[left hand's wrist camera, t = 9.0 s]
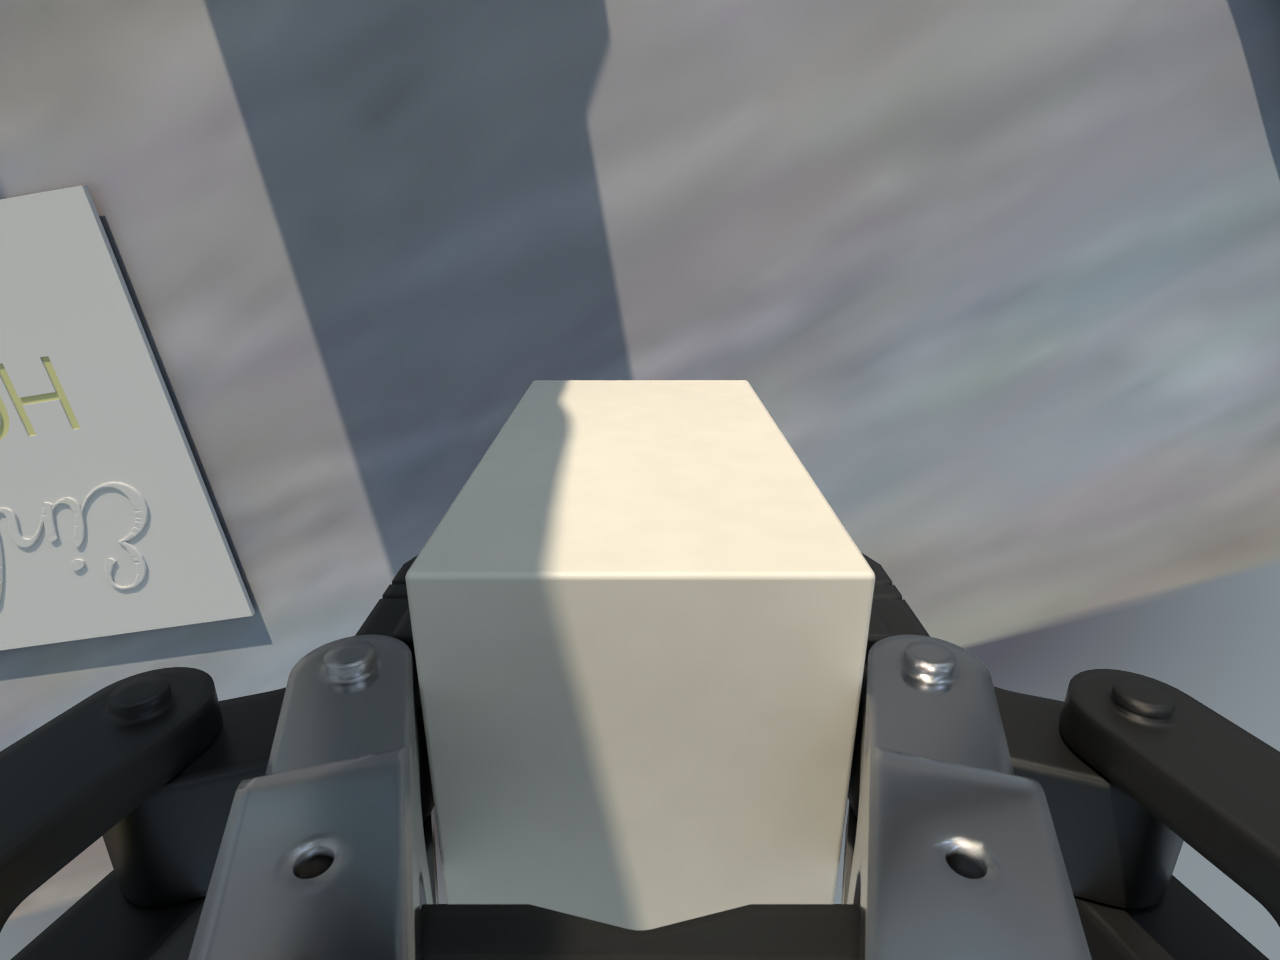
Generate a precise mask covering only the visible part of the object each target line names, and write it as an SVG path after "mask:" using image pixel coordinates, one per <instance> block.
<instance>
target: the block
mask: <svg viewBox="0 0 1280 960" xmlns="http://www.w3.org/2000/svg"><path fill="white" fill-rule="evenodd" d="M405 579H406V587H407V594H408V602H409V610H410V618H411V626H412V634H413V642H414V650H415V657H416V665H417V673H418V681H419V689H420V697H421V705H422V713H423V720H424V728H425V736H426V744H427V752H428V760H429V768H430V776H431V783H432V791H433V799H434V807H435V815H436V823H437V831H438V838H439V846H440V854H441V862H442V870H443V878H444V885H445V894H446V901H447V904H530V905H534V906H538V907H542V908H546V909H550V910H554V911H558V912H562V913H566V914H570V915H574V916H578V917H582V918H586V919H590V920H594V921H598V922H602V923H606V924H610V925H614V926H618V927H622V928H626V929H631V930H649V929H654V928H658V927H662V926H666V925H670V924H674V923H678V922H682V921H686V920H690V919H694V918H698V917H702V916H706V915H710V914H714V913H718V912H722V911H726V910H730V909H734V908H738V907H742V906H746V905H750V904H834V900H835V892H836V884H837V876H838V868H839V860H840V852H841V844H842V837H843V829H844V821H845V813H846V805H847V797H848V789H849V782H850V774H851V766H852V758H853V750H854V742H855V734H856V726H857V719H858V711H859V703H860V695H861V687H862V679H863V671H864V664H865V656H866V648H867V640H868V632H869V624H870V616H871V608H872V601H873V593H874V585H875V574H874V572H873V570H872V569H871V567H870V566H869V564H868V563H867V561H866V560H865V558H864V557H863V555H862V554H861V552H860V551H859V549H858V548H857V546H856V545H855V543H854V542H853V540H852V539H851V537H850V536H849V534H848V532H847V531H846V529H845V528H844V526H843V525H842V523H841V522H840V520H839V519H838V517H837V516H836V514H835V513H834V511H833V510H832V508H831V507H830V505H829V504H828V502H827V501H826V499H825V498H824V496H823V495H822V493H821V492H820V490H819V489H818V487H817V486H816V484H815V483H814V481H813V480H812V478H811V477H810V475H809V473H808V472H807V470H806V469H805V467H804V466H803V464H802V463H801V461H800V460H799V458H798V457H797V455H796V454H795V452H794V451H793V449H792V448H791V446H790V445H789V443H788V442H787V440H786V439H785V437H784V436H783V434H782V433H781V431H780V430H779V428H778V427H777V425H776V424H775V422H774V421H773V419H772V418H771V416H770V415H769V413H768V411H767V410H766V408H765V407H764V405H763V404H762V402H761V401H760V399H759V398H758V396H757V395H756V393H755V392H754V390H753V389H752V387H751V386H750V384H749V383H748V381H746V380H535V381H533V382H532V383H531V385H530V386H529V388H528V389H527V391H526V392H525V394H524V395H523V397H522V398H521V400H520V401H519V403H518V404H517V406H516V408H515V409H514V411H513V412H512V414H511V415H510V417H509V418H508V420H507V421H506V423H505V424H504V426H503V427H502V429H501V430H500V432H499V433H498V435H497V436H496V438H495V439H494V441H493V442H492V444H491V445H490V447H489V449H488V450H487V452H486V453H485V455H484V456H483V458H482V459H481V461H480V462H479V464H478V465H477V467H476V468H475V470H474V471H473V473H472V474H471V476H470V477H469V479H468V480H467V482H466V483H465V485H464V487H463V488H462V490H461V491H460V493H459V494H458V496H457V497H456V499H455V500H454V502H453V503H452V505H451V506H450V508H449V509H448V511H447V512H446V514H445V515H444V517H443V518H442V520H441V521H440V523H439V524H438V526H437V528H436V529H435V531H434V532H433V534H432V535H431V537H430V538H429V540H428V541H427V543H426V544H425V546H424V547H423V549H422V550H421V552H420V553H419V555H418V556H417V558H416V559H415V561H414V562H413V564H412V566H411V567H410V569H409V570H408V572H407V574H406V577H405Z"/></svg>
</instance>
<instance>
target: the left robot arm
mask: <svg viewBox="0 0 1280 960" xmlns="http://www.w3.org/2000/svg"><path fill="white" fill-rule="evenodd" d="M861 554H862V555H863V557H864V558H865V560H866V561H867V563H868V564H869V566H870V567H871V569H872V570H873V572H874V574H875V585H874V593H873V601H872V608H871V616H870V624H869V632H868V640H867V648H866V656H865V664H864V671H863V679H862V687H861V695H860V703H859V711H858V719H857V726H856V734H855V742H854V750H853V758H852V766H851V774H850V782H849V789H848V798H849V809H848V817H847V824H846V835H845V852H844V869H843V886H842V903H841V904H750V905H746V906H742V907H738V908H734V909H730V910H726V911H722V912H718V913H714V914H710V915H706V916H702V917H698V918H694V919H690V920H686V921H682V922H678V923H674V924H670V925H666V926H662V927H658V928H654V929H649V930H631V929H626V928H622V927H618V926H614V925H610V924H606V923H602V922H598V921H594V920H590V919H586V918H582V917H578V916H574V915H570V914H566V913H562V912H558V911H554V910H550V909H546V908H542V907H538V906H534V905H530V904H439V903H438V886H437V869H436V852H435V835H434V824H433V817H432V809H433V807H434V799H433V791H432V783H431V776H430V768H429V760H428V752H427V744H426V736H425V728H424V720H423V713H422V705H421V697H420V689H419V681H418V673H417V665H416V657H415V650H414V642H413V634H412V626H411V618H410V610H409V602H408V594H407V587H406V579H405V577H406V574H407V572H408V570H409V569H410V567H411V566H412V564H413V562H414V561H415V559H416V558H417V556H416V557H414V558H413V559H411V560H410V561H408V562H407V563H405V564H404V565H403V566H402V568H401V569H400V571H399V572H398V573H397V575H396V576H395V578H394V579H393V581H392V585H389V587H388V588H387V590H386V591H385V593H384V594H383V599H380V600H379V601H378V603H377V604H376V606H375V607H374V609H373V610H372V612H371V613H370V615H369V616H368V618H367V619H366V621H365V622H364V623H363V625H362V626H361V628H360V629H359V631H358V632H357V634H356V635H355V636H352V637H347V638H343V639H339V640H336V641H333V642H330V643H328V644H325V645H323V646H321V647H319V648H317V649H315V650H313V651H312V652H310V653H308V654H307V655H306V656H304V657H303V658H302V659H300V660H299V661H298V663H297V664H296V665H295V666H294V667H293V669H292V670H291V672H290V675H289V678H288V682H287V686H286V688H282V689H278V690H274V691H270V692H265V693H260V694H254V695H249V696H244V697H239V698H234V699H228V700H223V701H218V698H217V694H216V690H215V685H214V682H213V679H212V677H211V676H210V675H209V674H207V673H206V672H204V671H202V670H198V669H195V668H187V667H173V668H163V669H157V670H152V671H148V672H144V673H140V674H137V675H134V676H131V677H128V678H125V679H123V680H120V681H118V682H115V683H113V684H111V685H109V686H107V687H105V688H103V689H101V690H100V691H98V692H96V693H94V694H93V695H91V696H90V697H88V698H86V699H85V700H83V701H82V702H80V703H78V704H77V705H75V706H73V707H72V708H70V709H69V710H67V711H65V712H64V713H62V714H61V715H59V716H57V717H56V718H54V719H53V720H51V721H49V722H48V723H46V724H44V725H43V726H41V727H40V728H38V729H36V730H35V731H33V732H32V733H30V734H28V735H27V736H25V737H24V738H22V739H20V740H19V741H17V742H15V743H14V744H12V745H11V746H9V747H7V748H6V749H4V750H3V751H1V752H0V932H1V930H2V928H3V926H4V924H5V923H6V921H7V919H8V918H9V916H10V915H11V914H12V912H13V911H14V910H15V909H16V908H17V906H18V905H19V904H20V903H21V902H22V901H23V900H24V899H25V898H27V897H28V896H29V895H30V894H31V893H32V892H34V891H35V890H36V889H37V888H38V887H40V886H41V885H42V884H43V883H45V882H46V881H47V880H48V879H50V878H51V877H52V876H53V875H54V874H56V873H57V872H58V871H59V870H61V869H62V868H63V867H64V866H65V865H67V864H68V863H69V862H70V861H72V860H73V859H74V858H75V857H77V856H78V855H79V854H80V853H81V852H83V851H84V850H85V849H86V848H88V847H89V846H90V845H91V844H93V843H94V842H95V841H96V840H97V839H99V838H100V837H101V836H103V839H104V842H105V845H106V848H107V851H108V854H109V857H110V859H111V862H112V865H113V868H114V870H113V871H112V872H111V873H109V874H108V875H107V876H106V877H105V878H104V879H103V880H101V881H100V882H99V883H98V884H97V885H96V886H95V887H93V888H92V889H91V890H90V891H89V892H88V893H87V894H85V895H84V896H83V897H82V898H81V899H80V900H78V901H77V902H76V903H75V904H74V905H73V906H72V907H70V908H69V909H68V910H67V911H66V912H65V913H64V914H62V915H61V916H60V917H59V918H58V919H57V920H56V921H54V922H53V923H52V924H51V925H50V926H49V927H48V928H46V929H45V930H44V931H43V932H42V933H41V934H40V935H38V936H37V937H36V938H35V939H34V940H33V941H32V942H30V943H29V944H28V945H27V946H26V947H25V948H23V949H22V950H21V951H20V952H19V953H18V954H17V955H15V956H14V957H13V958H12V959H11V960H1269V959H1268V958H1267V957H1266V956H1265V955H1263V954H1262V953H1261V952H1260V951H1259V950H1258V949H1257V948H1255V947H1254V946H1253V945H1252V944H1251V943H1250V942H1249V941H1247V940H1246V939H1245V938H1244V937H1243V936H1242V935H1240V934H1239V933H1238V932H1237V931H1236V930H1235V929H1234V928H1232V927H1231V926H1230V925H1229V924H1228V923H1227V922H1226V921H1224V920H1223V919H1222V918H1221V917H1220V916H1219V915H1218V914H1216V913H1215V912H1214V911H1213V910H1212V909H1211V908H1209V907H1208V906H1207V905H1206V904H1205V903H1204V902H1203V901H1202V900H1200V899H1199V898H1198V897H1197V896H1196V895H1195V894H1194V893H1192V892H1191V891H1190V890H1189V889H1188V888H1187V887H1185V886H1184V885H1183V884H1182V883H1181V882H1180V881H1179V880H1177V879H1176V878H1175V877H1174V876H1173V875H1172V873H1173V870H1174V867H1175V864H1176V861H1177V858H1178V855H1179V853H1180V850H1181V847H1182V844H1183V841H1185V842H1186V843H1188V844H1189V845H1190V846H1191V847H1192V848H1194V849H1195V850H1196V851H1197V852H1199V853H1200V854H1201V855H1202V856H1203V857H1205V858H1206V859H1207V860H1208V861H1210V862H1211V863H1212V864H1213V865H1215V866H1216V867H1217V868H1218V869H1219V870H1221V871H1222V872H1223V873H1224V874H1226V875H1227V876H1228V877H1229V878H1231V879H1232V880H1233V881H1234V882H1235V883H1237V884H1238V885H1239V886H1240V887H1242V888H1243V889H1244V890H1245V891H1246V892H1248V893H1249V894H1250V895H1251V896H1253V897H1254V898H1255V899H1256V900H1257V901H1258V902H1260V903H1261V904H1262V905H1263V906H1264V907H1265V908H1266V909H1267V911H1268V912H1269V913H1270V914H1271V915H1272V917H1273V918H1274V919H1275V920H1276V922H1277V923H1278V925H1279V927H1280V752H1279V751H1277V750H1276V749H1274V748H1273V747H1271V746H1269V745H1268V744H1266V743H1264V742H1263V741H1261V740H1260V739H1258V738H1257V737H1255V736H1253V735H1252V734H1250V733H1248V732H1247V731H1245V730H1244V729H1242V728H1240V727H1239V726H1237V725H1236V724H1234V723H1232V722H1231V721H1229V720H1228V719H1226V718H1224V717H1223V716H1221V715H1219V714H1218V713H1216V712H1215V711H1213V710H1211V709H1210V708H1208V707H1207V706H1205V705H1203V704H1202V703H1200V702H1198V701H1197V700H1195V699H1194V698H1192V697H1190V696H1189V695H1187V694H1185V693H1184V692H1182V691H1180V690H1178V689H1176V688H1174V687H1172V686H1170V685H1168V684H1166V683H1163V682H1160V681H1158V680H1155V679H1153V678H1150V677H1146V676H1143V675H1140V674H1136V673H1132V672H1127V671H1120V670H1111V669H1094V670H1087V671H1084V672H1080V673H1079V674H1077V675H1075V676H1074V677H1073V678H1072V679H1071V681H1070V683H1069V686H1068V690H1067V694H1066V698H1065V702H1062V701H1057V700H1052V699H1047V698H1042V697H1037V696H1031V695H1026V694H1021V693H1016V692H1012V691H1008V690H1003V689H1000V688H997V687H994V686H993V682H992V678H991V675H990V672H989V670H988V669H987V667H986V666H985V665H984V664H983V663H982V661H981V660H980V659H978V658H977V657H976V656H974V655H973V654H972V653H970V652H968V651H967V650H965V649H963V648H961V647H959V646H957V645H955V644H952V643H950V642H947V641H944V640H941V639H937V638H933V637H930V636H929V634H928V633H927V631H926V630H925V629H924V627H923V626H922V624H921V623H920V621H919V620H918V618H917V617H916V616H915V614H914V613H913V611H912V610H911V608H910V607H909V605H908V604H907V603H906V601H905V600H902V595H901V594H900V592H899V591H898V590H897V588H896V587H895V585H892V581H891V579H890V578H889V577H888V575H887V574H886V572H885V571H884V569H883V568H882V566H881V565H880V564H878V563H877V562H875V561H874V560H872V559H870V558H869V557H867V556H866V555H864V554H863V553H861Z"/></svg>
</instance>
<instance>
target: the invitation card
mask: <svg viewBox="0 0 1280 960" xmlns="http://www.w3.org/2000/svg"><path fill="white" fill-rule="evenodd" d="M254 614H255V611H254V608H253V606H252V603H251V601H250V598H249V596H248V593H247V591H246V588H245V586H244V583H243V581H242V578H241V575H240V573H239V570H238V568H237V565H236V563H235V560H234V558H233V555H232V553H231V550H230V548H229V545H228V542H227V540H226V537H225V535H224V532H223V530H222V527H221V525H220V522H219V520H218V517H217V515H216V512H215V509H214V507H213V504H212V502H211V499H210V497H209V494H208V492H207V489H206V487H205V484H204V482H203V479H202V476H201V474H200V471H199V469H198V466H197V464H196V461H195V459H194V456H193V454H192V451H191V449H190V446H189V443H188V441H187V438H186V436H185V433H184V431H183V428H182V426H181V423H180V421H179V418H178V416H177V413H176V410H175V408H174V405H173V403H172V400H171V398H170V395H169V393H168V390H167V388H166V385H165V383H164V380H163V377H162V375H161V372H160V370H159V367H158V365H157V362H156V360H155V357H154V355H153V352H152V350H151V347H150V344H149V342H148V339H147V337H146V334H145V332H144V329H143V327H142V324H141V322H140V319H139V317H138V314H137V311H136V309H135V306H134V304H133V301H132V299H131V296H130V294H129V291H128V289H127V286H126V284H125V281H124V278H123V276H122V273H121V271H120V268H119V266H118V263H117V261H116V258H115V256H114V253H113V251H112V248H111V245H110V243H109V240H108V238H107V235H106V233H105V230H104V228H103V225H102V223H101V220H100V218H99V215H98V212H97V210H96V207H95V205H94V202H93V200H92V197H91V195H90V192H89V190H88V187H87V186H86V185H81V186H75V187H69V188H64V189H58V190H52V191H46V192H41V193H35V194H29V195H23V196H18V197H12V198H6V199H0V651H1V650H8V649H15V648H22V647H30V646H37V645H44V644H51V643H59V642H66V641H73V640H81V639H88V638H95V637H102V636H110V635H117V634H124V633H131V632H139V631H146V630H153V629H161V628H168V627H175V626H182V625H190V624H197V623H204V622H212V621H219V620H226V619H233V618H241V617H248V616H253V615H254Z"/></svg>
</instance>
